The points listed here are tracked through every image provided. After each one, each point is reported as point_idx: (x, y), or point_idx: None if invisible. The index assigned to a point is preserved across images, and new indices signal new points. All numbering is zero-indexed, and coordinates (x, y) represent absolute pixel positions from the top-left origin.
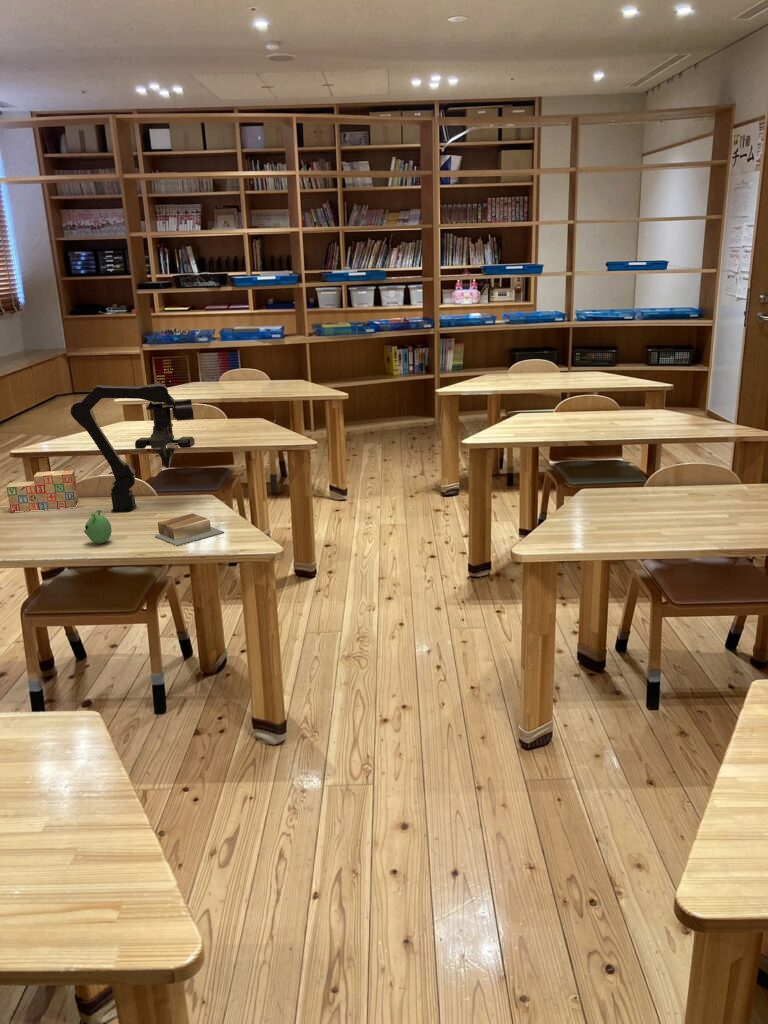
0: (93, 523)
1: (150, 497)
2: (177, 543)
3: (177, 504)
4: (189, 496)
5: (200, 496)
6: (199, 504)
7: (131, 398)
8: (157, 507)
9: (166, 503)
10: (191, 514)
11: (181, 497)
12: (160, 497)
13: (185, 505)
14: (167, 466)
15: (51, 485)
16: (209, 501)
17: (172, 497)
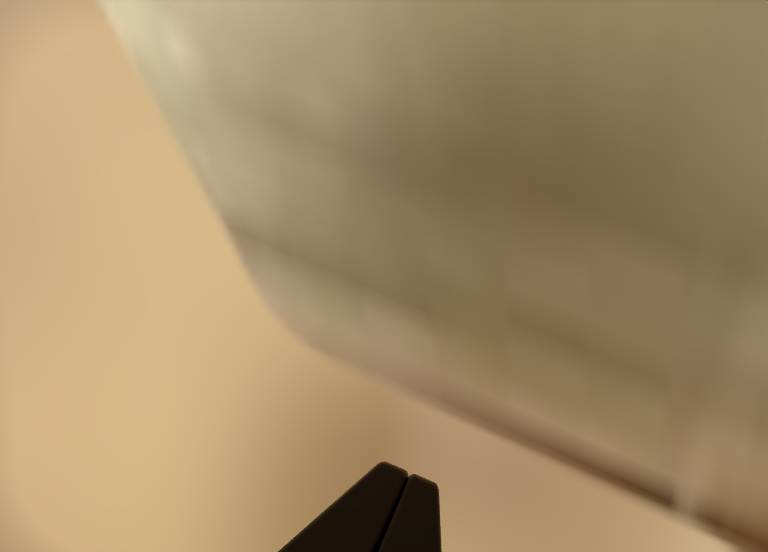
0: None
1: (762, 486)
2: None
3: (488, 128)
4: (392, 351)
5: (300, 311)
6: (255, 40)
7: None
8: (746, 79)
9: (613, 217)
10: None
11: (460, 354)
12: (660, 442)
13: (396, 51)
14: (386, 492)
15: None
16: (188, 120)
17: (543, 391)
